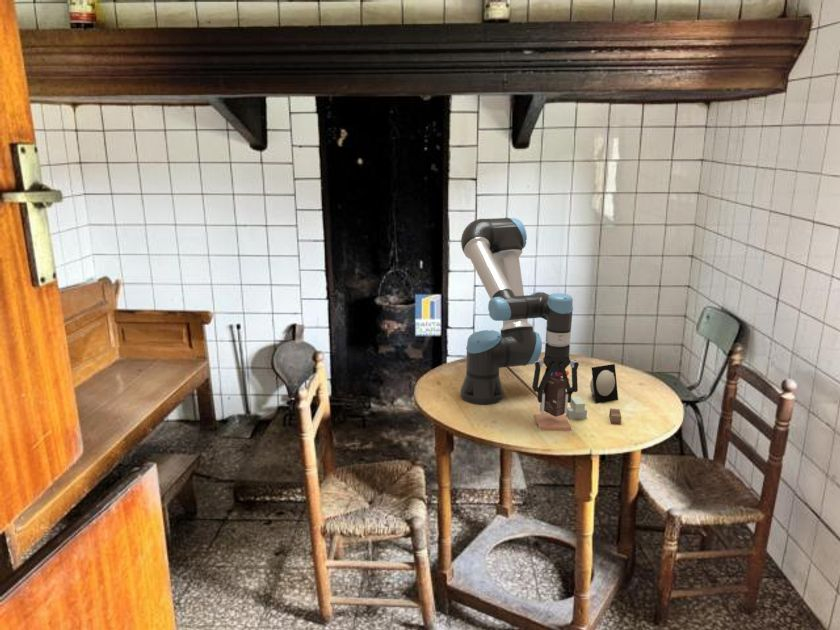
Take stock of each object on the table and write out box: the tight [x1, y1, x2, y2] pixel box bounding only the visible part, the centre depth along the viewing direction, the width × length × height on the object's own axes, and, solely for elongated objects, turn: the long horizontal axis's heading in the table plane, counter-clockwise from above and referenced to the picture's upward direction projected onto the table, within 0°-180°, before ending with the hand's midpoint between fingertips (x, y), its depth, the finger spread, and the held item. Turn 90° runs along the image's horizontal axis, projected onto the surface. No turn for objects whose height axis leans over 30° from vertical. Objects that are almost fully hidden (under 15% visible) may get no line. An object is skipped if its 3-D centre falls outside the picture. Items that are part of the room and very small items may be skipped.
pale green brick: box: [569, 396, 586, 413], centre depth 210 cm, size 6×3×3 cm, turn 4°
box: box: [544, 374, 567, 417], centre depth 203 cm, size 6×4×12 cm
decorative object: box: [589, 363, 619, 405], centre depth 226 cm, size 13×10×10 cm
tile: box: [534, 413, 572, 431], centre depth 206 cm, size 10×10×1 cm
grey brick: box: [565, 406, 588, 420], centre depth 211 cm, size 6×3×3 cm, turn 97°
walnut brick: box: [608, 407, 622, 425], centre depth 209 cm, size 6×3×3 cm, turn 169°
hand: (553, 411), depth 205 cm, fingers closed on box, 7 cm apart
